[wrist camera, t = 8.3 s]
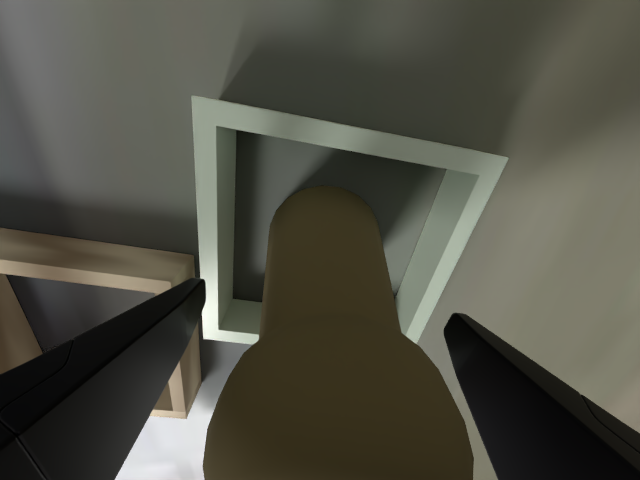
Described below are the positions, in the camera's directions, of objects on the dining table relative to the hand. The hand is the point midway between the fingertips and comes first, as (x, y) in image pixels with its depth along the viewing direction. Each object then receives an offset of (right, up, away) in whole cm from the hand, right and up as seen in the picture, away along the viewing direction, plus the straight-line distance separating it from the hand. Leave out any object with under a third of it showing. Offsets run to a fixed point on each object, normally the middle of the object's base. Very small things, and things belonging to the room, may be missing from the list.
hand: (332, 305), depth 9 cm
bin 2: (0, +2, +5) cm, 5 cm away
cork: (0, +2, +5) cm, 6 cm away
